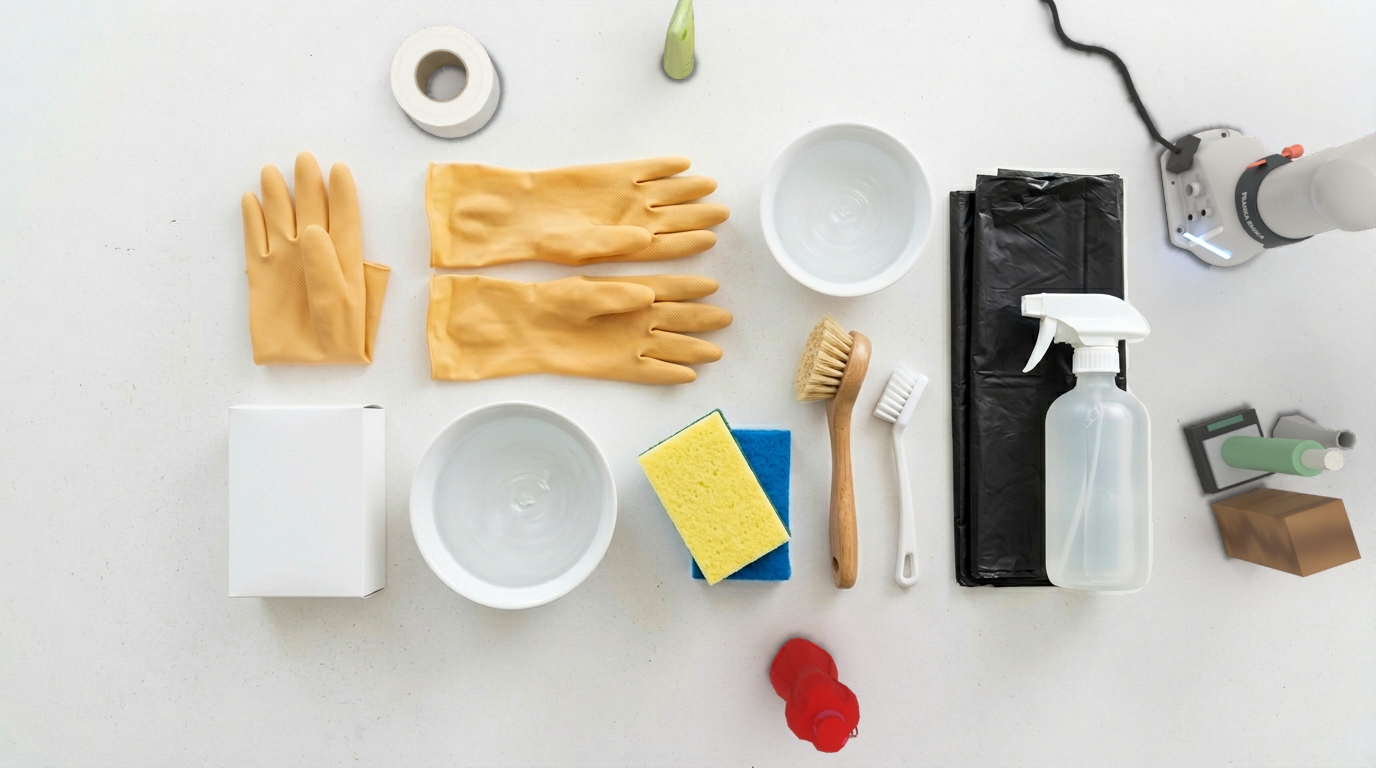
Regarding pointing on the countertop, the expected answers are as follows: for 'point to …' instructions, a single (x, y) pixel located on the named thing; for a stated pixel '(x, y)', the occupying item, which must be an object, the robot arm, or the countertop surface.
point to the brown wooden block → (1287, 530)
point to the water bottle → (814, 696)
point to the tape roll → (430, 54)
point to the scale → (1209, 443)
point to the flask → (1313, 433)
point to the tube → (680, 41)
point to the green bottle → (1280, 455)
